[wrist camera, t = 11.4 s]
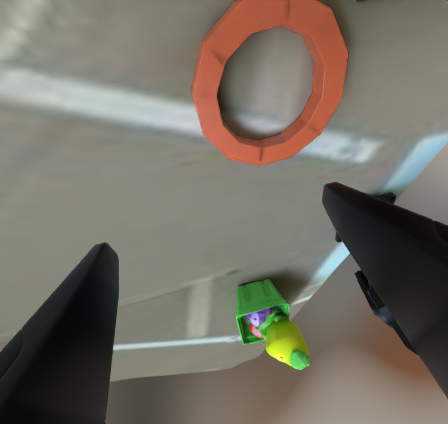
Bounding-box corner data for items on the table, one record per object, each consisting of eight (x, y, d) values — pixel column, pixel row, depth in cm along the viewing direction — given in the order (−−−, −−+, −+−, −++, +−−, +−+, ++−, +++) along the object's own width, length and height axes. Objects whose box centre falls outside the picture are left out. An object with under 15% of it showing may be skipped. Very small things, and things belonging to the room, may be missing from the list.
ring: (326, 137, 21) (335, 145, 20) (212, 168, 21) (215, 178, 20) (344, -30, 14) (360, -34, 13) (171, 18, 14) (171, 19, 13)
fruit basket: (227, 283, 34) (245, 371, 26) (285, 269, 35) (321, 352, 26) (236, 315, 42) (252, 391, 34) (283, 304, 42) (311, 376, 34)
